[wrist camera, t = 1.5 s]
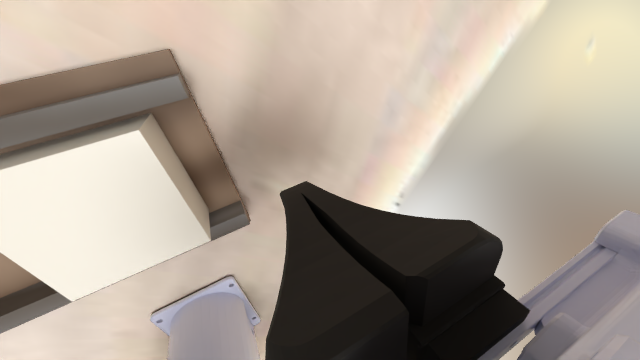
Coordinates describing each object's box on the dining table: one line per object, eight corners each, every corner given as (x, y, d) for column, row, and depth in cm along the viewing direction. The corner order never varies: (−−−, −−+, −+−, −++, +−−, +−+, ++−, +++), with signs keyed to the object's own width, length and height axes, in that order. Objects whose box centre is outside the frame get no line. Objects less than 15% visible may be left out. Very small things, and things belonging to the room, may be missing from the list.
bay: (248, 215, 22) (260, 251, 18) (-96, 362, 16) (-195, 468, 12) (169, 49, 14) (159, 48, 10) (-571, 206, 8) (-1329, 359, 4)
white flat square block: (208, 208, 19) (210, 240, 16) (90, 256, 17) (65, 304, 13) (151, 112, 14) (138, 129, 11) (-19, 159, 12) (-95, 197, 9)
